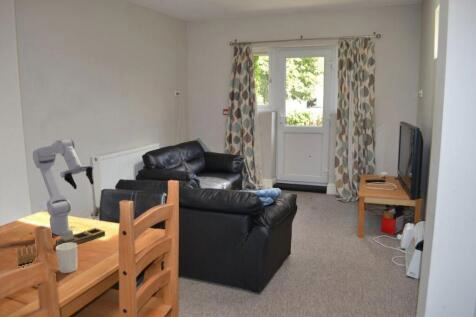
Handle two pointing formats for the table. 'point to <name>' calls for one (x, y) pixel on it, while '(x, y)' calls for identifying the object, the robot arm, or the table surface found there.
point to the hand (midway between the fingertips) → (84, 185)
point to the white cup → (67, 257)
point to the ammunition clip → (25, 259)
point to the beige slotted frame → (84, 236)
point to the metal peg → (66, 236)
